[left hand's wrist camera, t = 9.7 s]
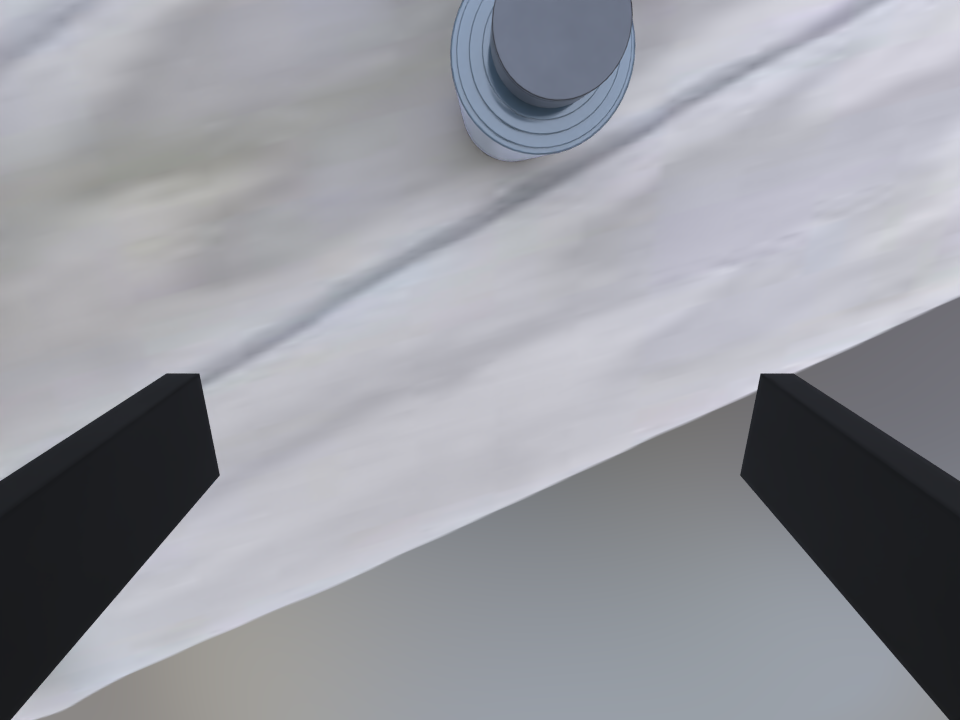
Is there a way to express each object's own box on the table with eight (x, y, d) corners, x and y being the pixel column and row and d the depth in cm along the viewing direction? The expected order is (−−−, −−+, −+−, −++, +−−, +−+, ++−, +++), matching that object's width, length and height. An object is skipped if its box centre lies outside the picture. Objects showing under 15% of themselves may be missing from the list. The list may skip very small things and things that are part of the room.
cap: (638, 3, 17) (659, -19, 15) (577, 129, 19) (589, 124, 17) (524, -62, 17) (530, -94, 15) (469, 74, 18) (469, 61, 16)
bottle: (581, 79, 36) (723, -43, 15) (534, 178, 38) (604, 188, 18) (487, 29, 35) (505, -175, 14) (445, 134, 37) (408, 89, 17)
